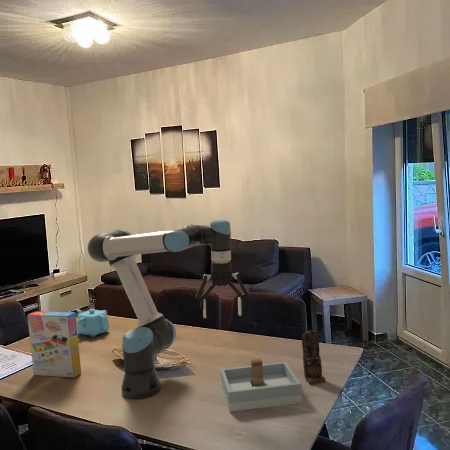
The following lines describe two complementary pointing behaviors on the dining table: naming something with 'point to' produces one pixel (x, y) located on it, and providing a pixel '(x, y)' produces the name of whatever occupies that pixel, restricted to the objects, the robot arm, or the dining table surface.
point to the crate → (260, 387)
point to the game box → (54, 344)
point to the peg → (257, 372)
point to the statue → (312, 358)
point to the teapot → (92, 322)
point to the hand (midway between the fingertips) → (222, 315)
